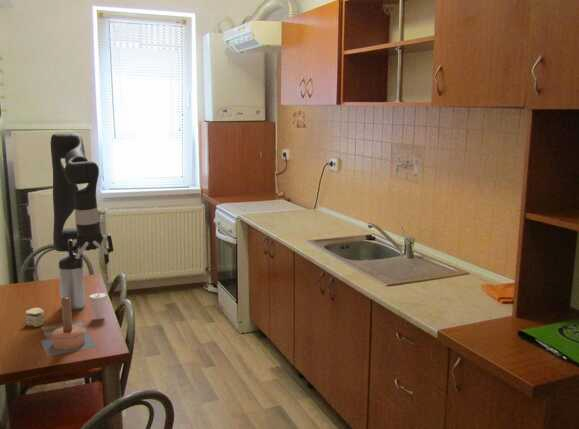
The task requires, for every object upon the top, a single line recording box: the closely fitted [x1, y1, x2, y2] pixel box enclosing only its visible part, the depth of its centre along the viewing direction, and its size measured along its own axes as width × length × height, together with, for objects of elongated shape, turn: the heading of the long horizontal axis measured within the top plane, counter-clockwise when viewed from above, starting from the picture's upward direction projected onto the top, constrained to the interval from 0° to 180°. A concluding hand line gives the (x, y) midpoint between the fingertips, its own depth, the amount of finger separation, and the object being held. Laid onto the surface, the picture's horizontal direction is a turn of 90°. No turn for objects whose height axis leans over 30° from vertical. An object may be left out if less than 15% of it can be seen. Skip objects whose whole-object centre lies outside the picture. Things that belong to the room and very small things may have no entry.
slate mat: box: [40, 332, 98, 357], centre depth 195 cm, size 15×16×1 cm
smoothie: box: [89, 283, 108, 320], centre depth 219 cm, size 6×6×14 cm
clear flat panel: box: [40, 319, 89, 340], centre depth 208 cm, size 14×14×1 cm
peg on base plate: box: [51, 297, 85, 350], centre depth 193 cm, size 10×10×17 cm
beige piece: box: [25, 307, 46, 328], centre depth 214 cm, size 10×9×6 cm
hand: (93, 266), depth 192 cm, fingers open, 8 cm apart
